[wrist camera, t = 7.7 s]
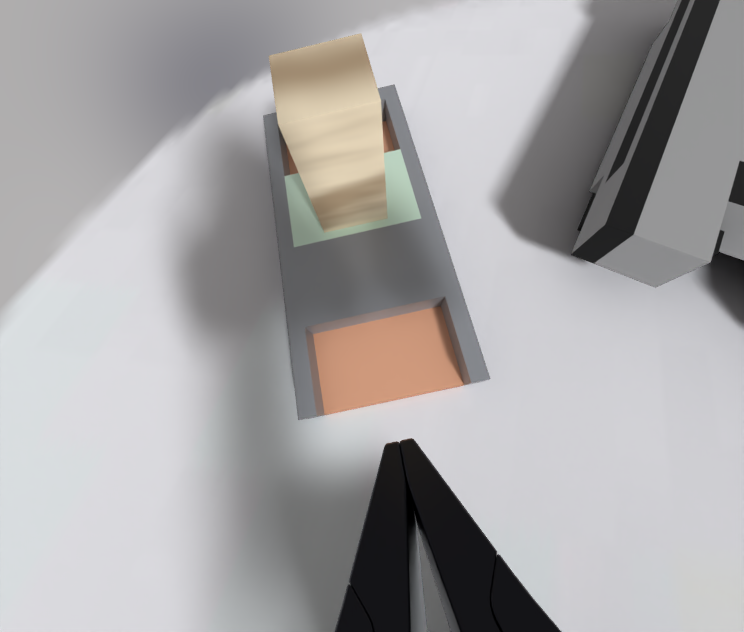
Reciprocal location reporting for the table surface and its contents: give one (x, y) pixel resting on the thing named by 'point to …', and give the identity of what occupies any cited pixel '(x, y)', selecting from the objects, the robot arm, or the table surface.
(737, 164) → the game console
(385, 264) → the box
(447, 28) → the table surface
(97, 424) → the table surface
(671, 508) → the table surface
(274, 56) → the block
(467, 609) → the robot arm
